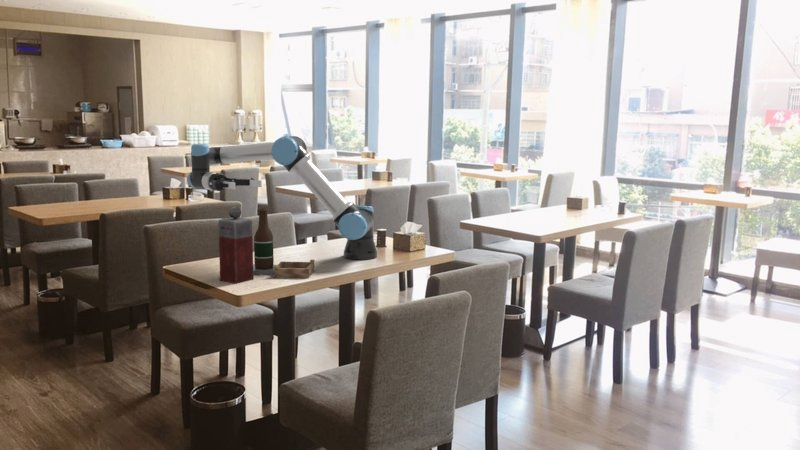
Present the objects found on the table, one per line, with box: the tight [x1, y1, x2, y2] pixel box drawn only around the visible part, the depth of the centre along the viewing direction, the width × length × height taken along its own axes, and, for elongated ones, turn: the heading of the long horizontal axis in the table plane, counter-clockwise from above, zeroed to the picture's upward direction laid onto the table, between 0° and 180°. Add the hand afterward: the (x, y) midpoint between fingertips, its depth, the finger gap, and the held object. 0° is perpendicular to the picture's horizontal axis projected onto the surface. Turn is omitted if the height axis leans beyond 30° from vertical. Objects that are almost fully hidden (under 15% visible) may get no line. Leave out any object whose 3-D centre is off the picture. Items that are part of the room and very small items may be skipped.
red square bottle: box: [218, 206, 254, 285], centre depth 258 cm, size 9×11×28 cm
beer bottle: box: [253, 207, 274, 269], centre depth 273 cm, size 8×8×24 cm
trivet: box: [253, 263, 275, 276], centre depth 275 cm, size 12×12×2 cm
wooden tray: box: [273, 259, 315, 279], centre depth 270 cm, size 14×14×4 cm
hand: (248, 184), depth 278 cm, fingers open, 13 cm apart
